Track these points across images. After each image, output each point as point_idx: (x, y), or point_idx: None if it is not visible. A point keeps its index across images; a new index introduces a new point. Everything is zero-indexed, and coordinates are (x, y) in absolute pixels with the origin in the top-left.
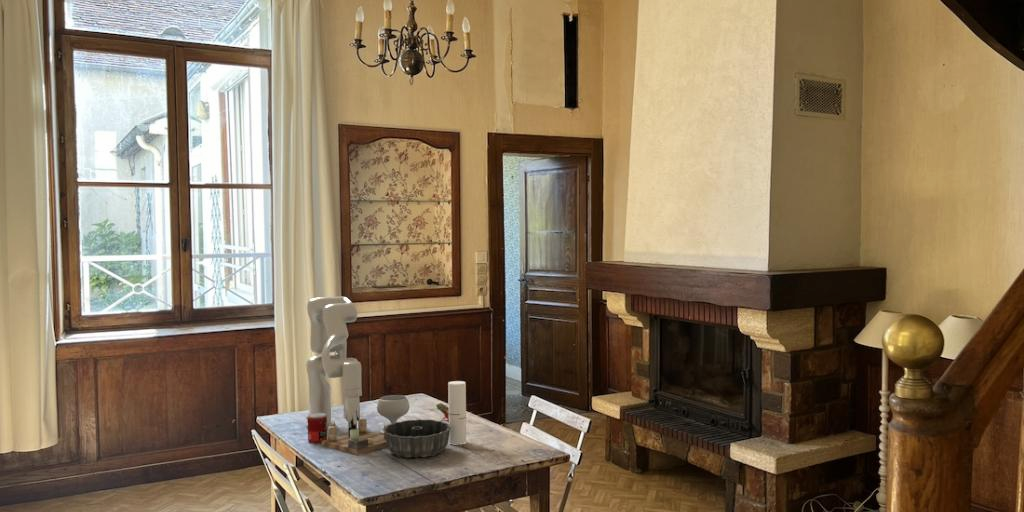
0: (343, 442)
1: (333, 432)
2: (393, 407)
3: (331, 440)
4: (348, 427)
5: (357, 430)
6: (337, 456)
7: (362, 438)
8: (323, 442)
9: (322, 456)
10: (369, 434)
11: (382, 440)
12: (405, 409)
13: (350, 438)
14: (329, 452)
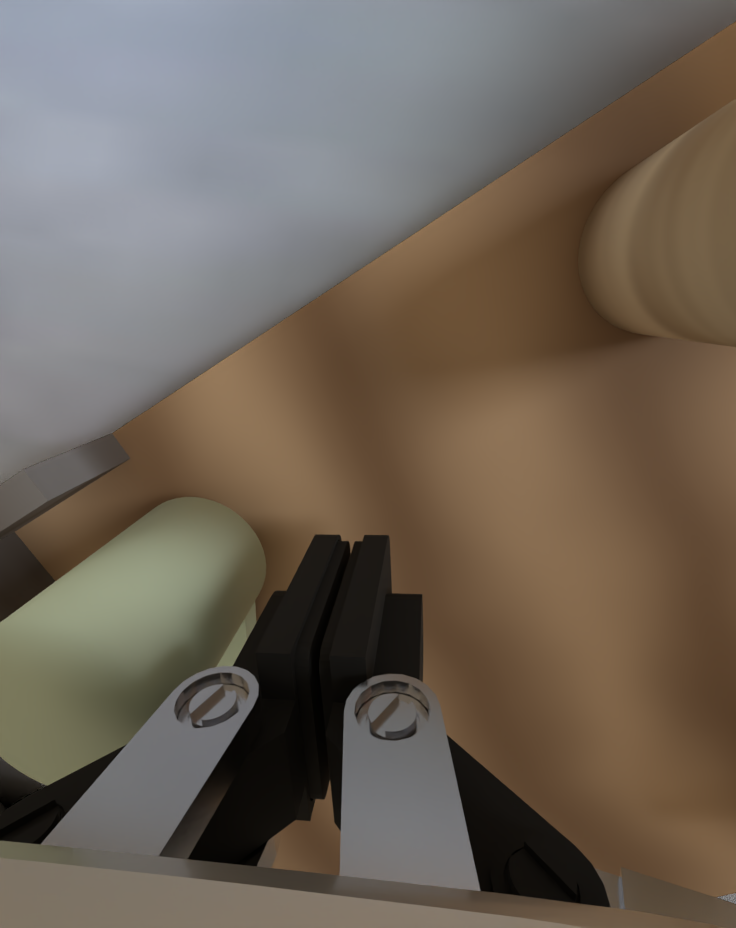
0: (436, 422)
1: (655, 242)
2: None
3: (596, 216)
4: (336, 657)
5: (9, 754)
6: (14, 253)
7: (535, 702)
8: (696, 52)
9: (47, 11)
10: (702, 819)
11: (328, 846)
12: None
13: (130, 532)
14: (240, 158)
